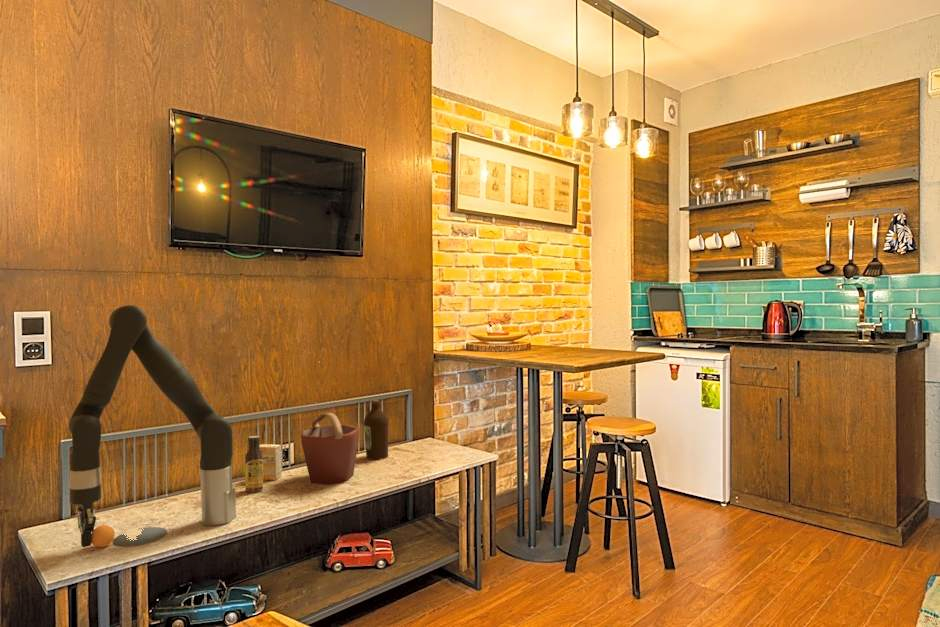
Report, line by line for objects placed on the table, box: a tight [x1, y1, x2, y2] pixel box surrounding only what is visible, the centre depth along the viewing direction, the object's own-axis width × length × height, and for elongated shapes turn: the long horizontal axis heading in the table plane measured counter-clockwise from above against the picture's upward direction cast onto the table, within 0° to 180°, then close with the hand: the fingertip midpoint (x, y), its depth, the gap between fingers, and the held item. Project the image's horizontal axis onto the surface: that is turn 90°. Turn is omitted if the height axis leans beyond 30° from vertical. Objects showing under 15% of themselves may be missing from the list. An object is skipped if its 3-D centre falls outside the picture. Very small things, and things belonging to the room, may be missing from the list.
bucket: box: [300, 412, 360, 486], centre depth 234 cm, size 24×22×25 cm
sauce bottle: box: [244, 435, 264, 493], centre depth 220 cm, size 7×6×20 cm
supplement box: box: [259, 443, 283, 481], centre depth 235 cm, size 8×5×13 cm, turn 81°
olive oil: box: [363, 399, 389, 461], centre depth 263 cm, size 11×11×25 cm
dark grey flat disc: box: [112, 526, 168, 547], centre depth 179 cm, size 14×14×1 cm
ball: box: [91, 524, 116, 548], centre depth 173 cm, size 6×6×6 cm
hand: (86, 545), depth 170 cm, fingers closed
